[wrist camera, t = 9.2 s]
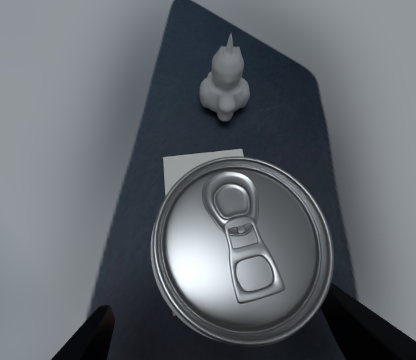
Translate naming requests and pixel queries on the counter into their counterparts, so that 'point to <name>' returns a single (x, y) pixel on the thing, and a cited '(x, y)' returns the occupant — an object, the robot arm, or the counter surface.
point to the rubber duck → (225, 83)
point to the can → (242, 252)
